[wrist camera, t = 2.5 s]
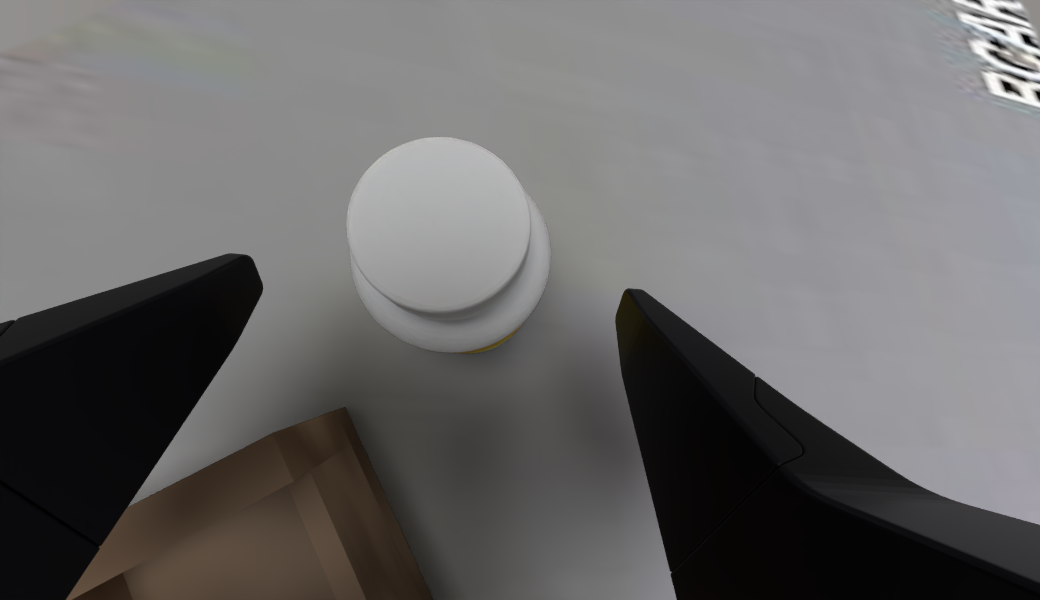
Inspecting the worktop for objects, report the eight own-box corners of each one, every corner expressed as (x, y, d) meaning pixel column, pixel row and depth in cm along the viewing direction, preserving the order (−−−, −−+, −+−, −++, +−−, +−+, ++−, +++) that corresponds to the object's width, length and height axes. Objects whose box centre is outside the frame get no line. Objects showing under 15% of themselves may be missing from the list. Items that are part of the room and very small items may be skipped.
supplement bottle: (551, 300, 18) (622, 233, 8) (466, 377, 17) (425, 413, 7) (476, 218, 18) (453, 55, 8) (389, 291, 18) (245, 207, 8)
